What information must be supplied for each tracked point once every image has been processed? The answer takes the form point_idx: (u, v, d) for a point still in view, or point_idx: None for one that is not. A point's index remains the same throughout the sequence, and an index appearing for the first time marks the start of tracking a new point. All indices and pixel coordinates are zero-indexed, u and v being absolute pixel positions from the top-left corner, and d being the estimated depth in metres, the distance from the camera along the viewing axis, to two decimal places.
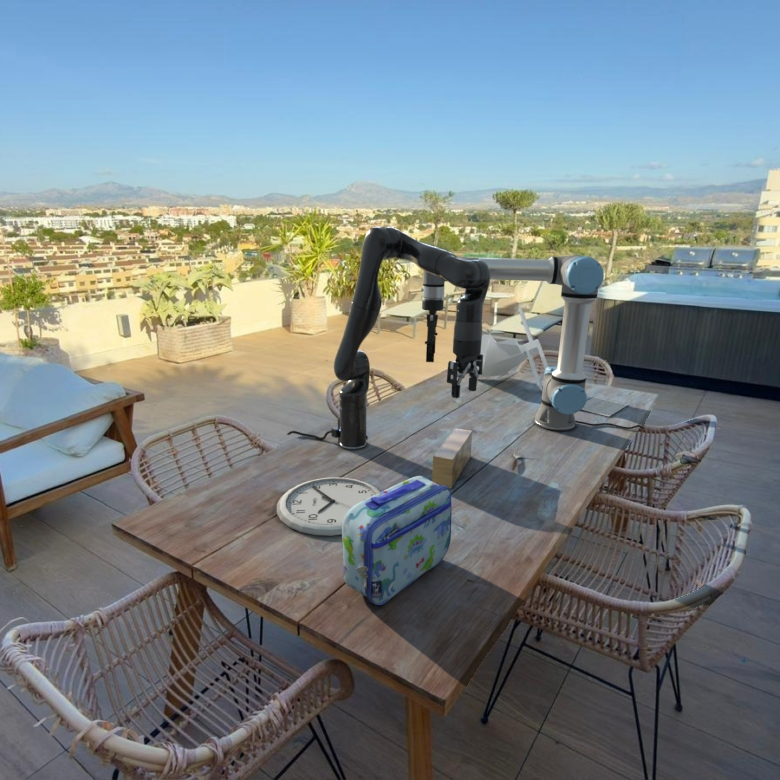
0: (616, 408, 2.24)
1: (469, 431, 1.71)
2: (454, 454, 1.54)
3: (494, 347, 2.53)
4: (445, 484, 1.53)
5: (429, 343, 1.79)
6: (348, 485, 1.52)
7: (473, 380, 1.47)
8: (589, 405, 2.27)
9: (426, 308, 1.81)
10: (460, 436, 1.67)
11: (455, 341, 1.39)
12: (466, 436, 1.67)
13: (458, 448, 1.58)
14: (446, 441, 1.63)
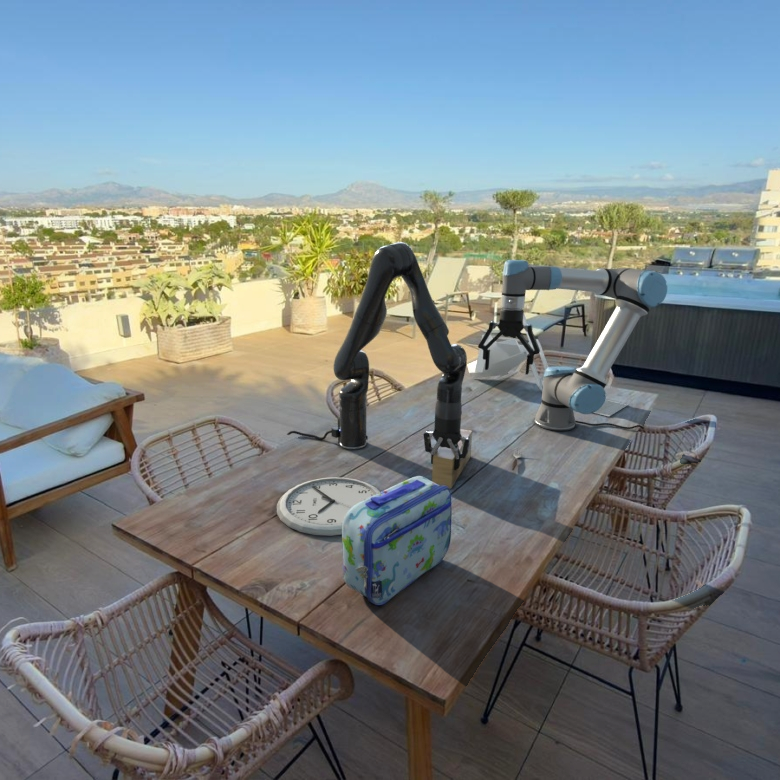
0: (616, 408, 2.24)
1: (469, 431, 1.71)
2: None
3: (494, 347, 2.53)
4: (445, 484, 1.53)
5: (536, 353, 1.72)
6: (348, 485, 1.52)
7: None
8: None
9: (519, 319, 1.69)
10: None
11: (458, 421, 1.48)
12: (466, 436, 1.67)
13: None
14: None
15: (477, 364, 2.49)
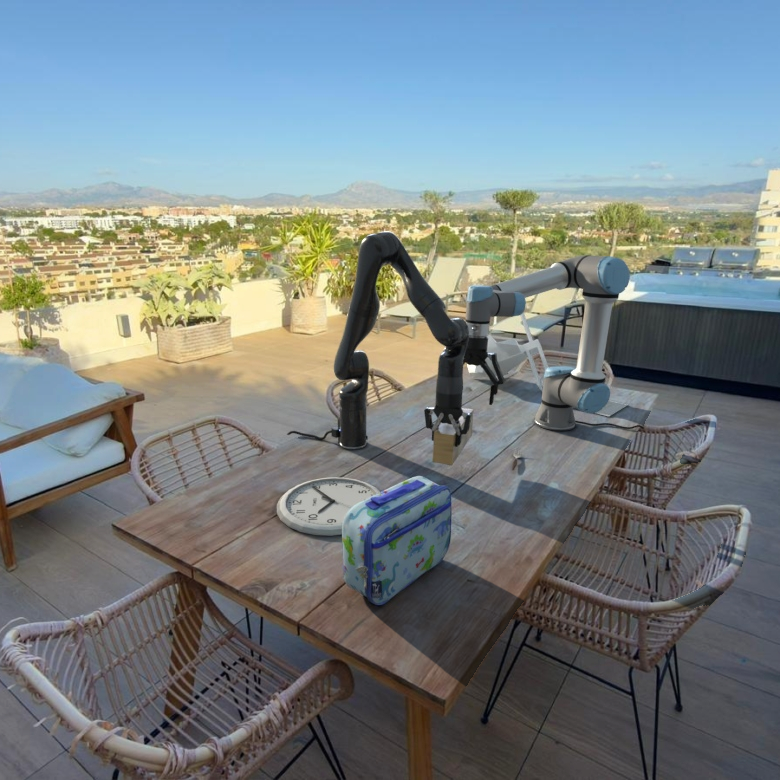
0: (616, 408, 2.24)
1: (470, 409, 1.69)
2: None
3: (494, 347, 2.53)
4: (446, 461, 1.51)
5: (500, 383, 1.64)
6: (348, 485, 1.52)
7: None
8: None
9: (483, 348, 1.61)
10: None
11: (459, 396, 1.46)
12: None
13: None
14: None
15: None
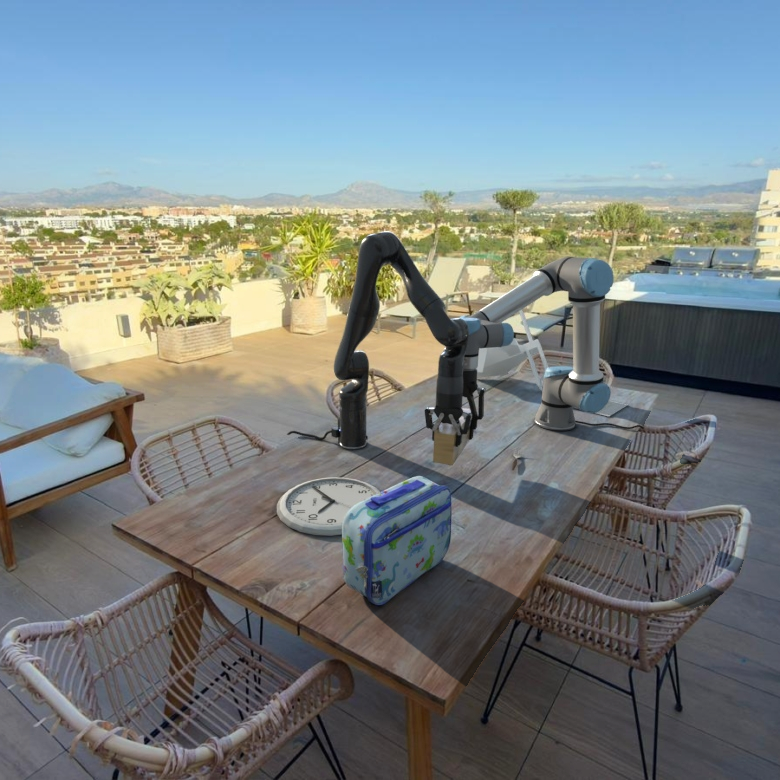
0: (616, 408, 2.24)
1: None
2: (455, 430, 1.51)
3: (494, 347, 2.53)
4: (446, 461, 1.51)
5: None
6: (348, 485, 1.52)
7: None
8: None
9: (473, 380, 1.61)
10: None
11: (459, 396, 1.46)
12: None
13: None
14: None
15: None
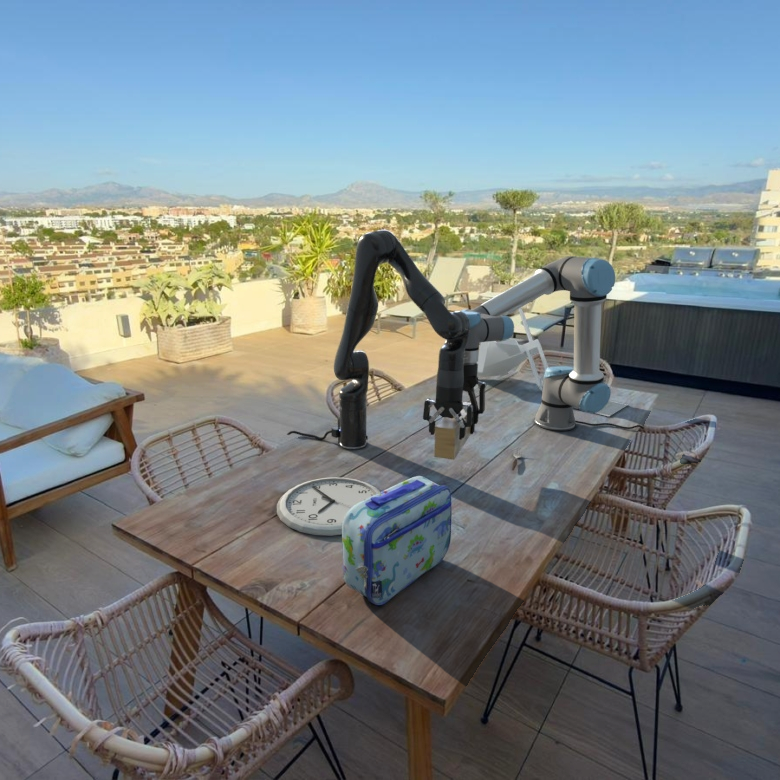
0: (616, 408, 2.24)
1: None
2: (457, 425, 1.51)
3: (494, 347, 2.53)
4: (448, 455, 1.51)
5: None
6: (348, 485, 1.52)
7: (434, 423, 1.53)
8: None
9: (473, 374, 1.61)
10: None
11: (460, 389, 1.45)
12: None
13: None
14: None
15: None
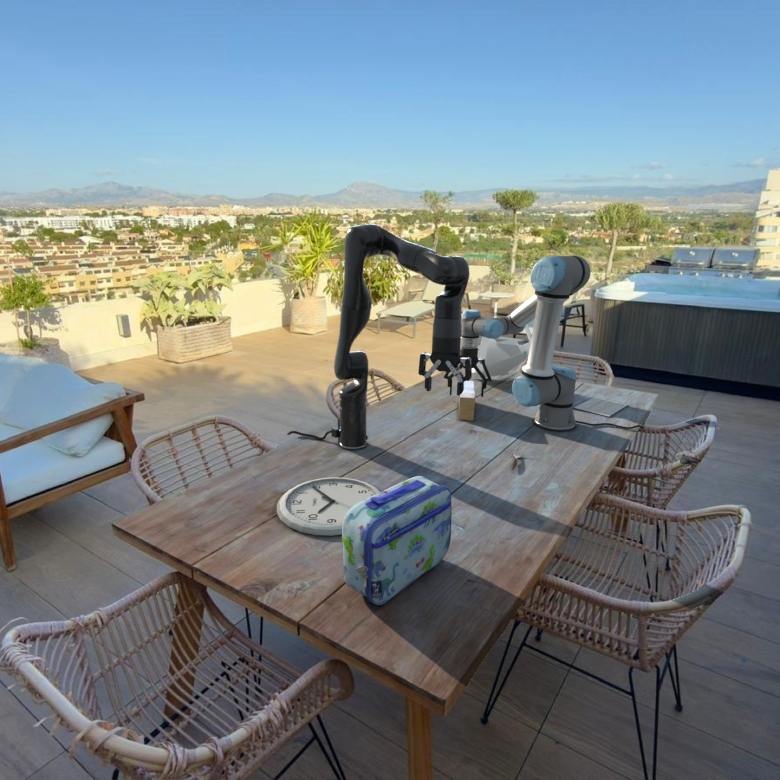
0: (616, 408, 2.24)
1: (472, 381, 2.27)
2: (473, 395, 2.08)
3: (494, 347, 2.53)
4: (469, 417, 2.07)
5: None
6: (348, 485, 1.52)
7: (430, 379, 1.43)
8: (589, 405, 2.27)
9: (476, 355, 2.19)
10: (468, 384, 2.22)
11: (457, 340, 1.36)
12: (472, 384, 2.22)
13: (473, 391, 2.13)
14: None
15: (477, 364, 2.49)
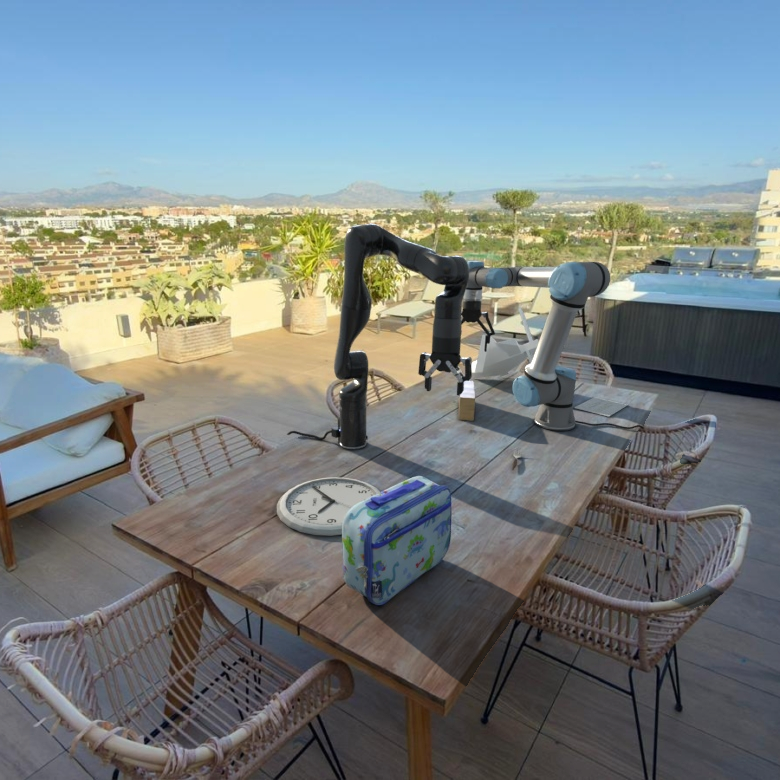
0: (616, 408, 2.24)
1: (472, 381, 2.27)
2: (473, 395, 2.08)
3: (494, 347, 2.53)
4: (469, 417, 2.07)
5: None
6: (348, 485, 1.52)
7: (430, 379, 1.43)
8: (589, 405, 2.27)
9: (479, 308, 2.13)
10: (468, 384, 2.22)
11: (457, 340, 1.36)
12: (472, 384, 2.22)
13: (473, 391, 2.13)
14: None
15: (477, 364, 2.49)
